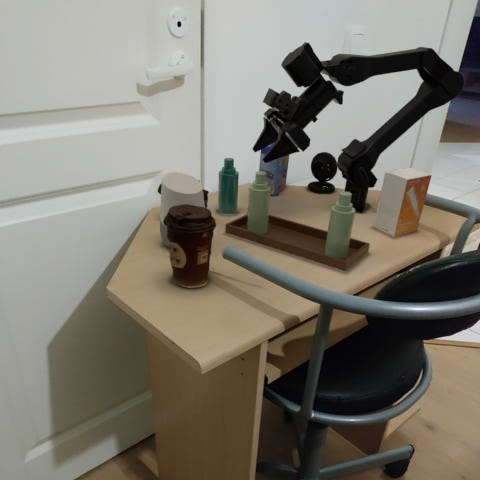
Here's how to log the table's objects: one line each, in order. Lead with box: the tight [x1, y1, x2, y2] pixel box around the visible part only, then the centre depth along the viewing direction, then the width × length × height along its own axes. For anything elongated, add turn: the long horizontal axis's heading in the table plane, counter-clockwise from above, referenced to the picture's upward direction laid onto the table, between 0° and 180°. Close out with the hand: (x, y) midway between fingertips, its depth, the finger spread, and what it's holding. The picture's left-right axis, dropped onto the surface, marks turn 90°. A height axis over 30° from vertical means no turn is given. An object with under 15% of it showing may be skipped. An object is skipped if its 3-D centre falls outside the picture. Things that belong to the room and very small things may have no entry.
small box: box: [373, 167, 433, 237], centre depth 107 cm, size 8×6×13 cm
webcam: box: [307, 151, 338, 194], centre depth 130 cm, size 8×8×10 cm
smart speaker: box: [159, 171, 205, 248], centre depth 95 cm, size 10×9×14 cm
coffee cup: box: [163, 204, 217, 289], centre depth 83 cm, size 9×8×13 cm
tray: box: [225, 213, 371, 272], centre depth 101 cm, size 11×28×2 cm, turn 54°
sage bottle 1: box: [247, 170, 272, 234], centre depth 103 cm, size 5×5×12 cm
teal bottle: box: [217, 157, 240, 215], centre depth 112 cm, size 5×5×12 cm
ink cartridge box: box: [258, 142, 290, 196], centre depth 128 cm, size 10×6×14 cm, turn 158°
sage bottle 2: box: [324, 191, 356, 259], centre depth 94 cm, size 5×5×12 cm
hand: (258, 156), depth 110 cm, fingers open, 9 cm apart
